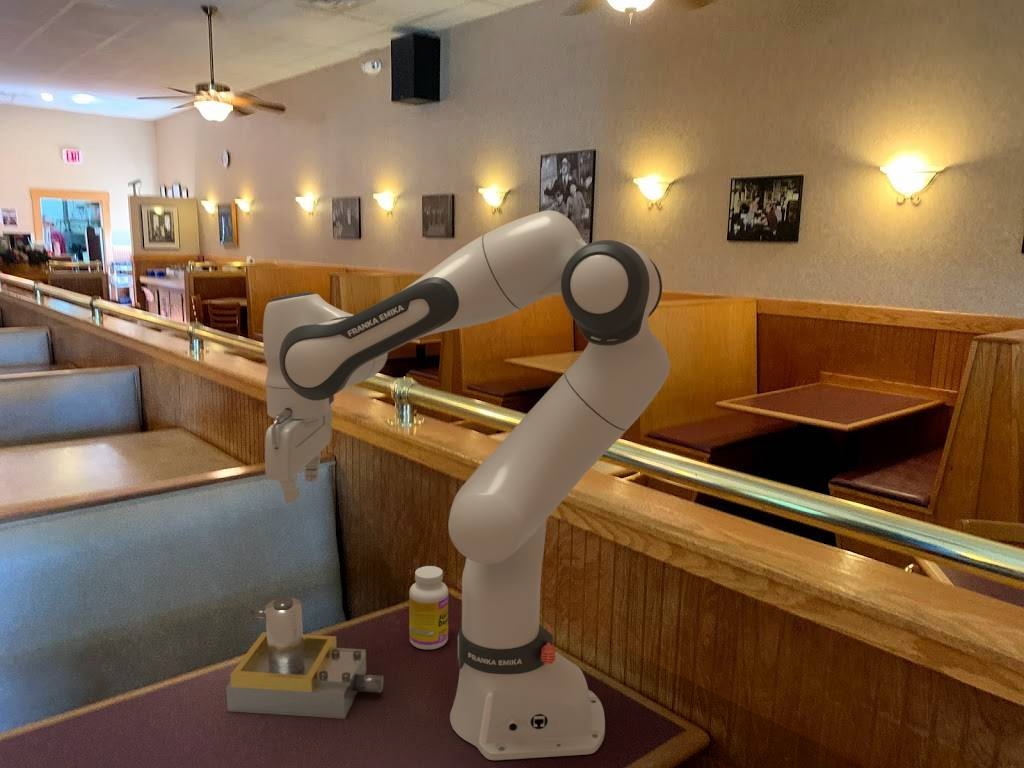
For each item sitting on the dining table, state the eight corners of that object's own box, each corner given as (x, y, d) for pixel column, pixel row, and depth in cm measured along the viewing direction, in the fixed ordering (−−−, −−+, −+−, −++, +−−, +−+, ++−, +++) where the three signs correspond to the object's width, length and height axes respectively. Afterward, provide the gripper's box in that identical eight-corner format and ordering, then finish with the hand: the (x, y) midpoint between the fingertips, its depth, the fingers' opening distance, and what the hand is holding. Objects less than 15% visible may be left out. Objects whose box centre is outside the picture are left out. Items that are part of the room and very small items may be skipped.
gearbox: (390, 673, 124) (390, 639, 123) (371, 720, 112) (371, 683, 111) (259, 665, 125) (258, 631, 124) (227, 711, 114) (225, 674, 112)
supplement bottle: (441, 653, 130) (441, 582, 127) (404, 648, 131) (403, 578, 129) (452, 633, 136) (452, 565, 134) (416, 629, 138) (416, 561, 135)
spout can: (308, 657, 121) (305, 594, 118) (297, 676, 116) (294, 611, 113) (262, 655, 121) (258, 592, 119) (249, 674, 116) (244, 609, 114)
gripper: (295, 419, 105) (300, 515, 108) (337, 388, 125) (340, 470, 128) (250, 418, 105) (256, 514, 108) (299, 387, 125) (303, 469, 128)
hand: (302, 490), depth 118 cm, fingers open, 8 cm apart
